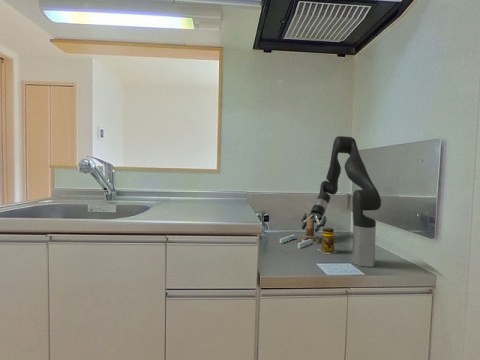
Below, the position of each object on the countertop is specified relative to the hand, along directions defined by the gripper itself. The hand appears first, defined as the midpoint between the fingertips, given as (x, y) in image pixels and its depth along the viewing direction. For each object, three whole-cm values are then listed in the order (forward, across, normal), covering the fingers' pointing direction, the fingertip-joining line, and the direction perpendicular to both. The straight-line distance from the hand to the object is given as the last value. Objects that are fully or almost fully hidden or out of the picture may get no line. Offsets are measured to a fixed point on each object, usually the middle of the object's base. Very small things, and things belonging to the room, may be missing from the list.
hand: (309, 230), depth 157 cm
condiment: (+11, +16, -1) cm, 19 cm away
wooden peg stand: (+3, 0, +4) cm, 5 cm away
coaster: (+4, 0, +6) cm, 7 cm away
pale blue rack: (+10, -4, 0) cm, 11 cm away
